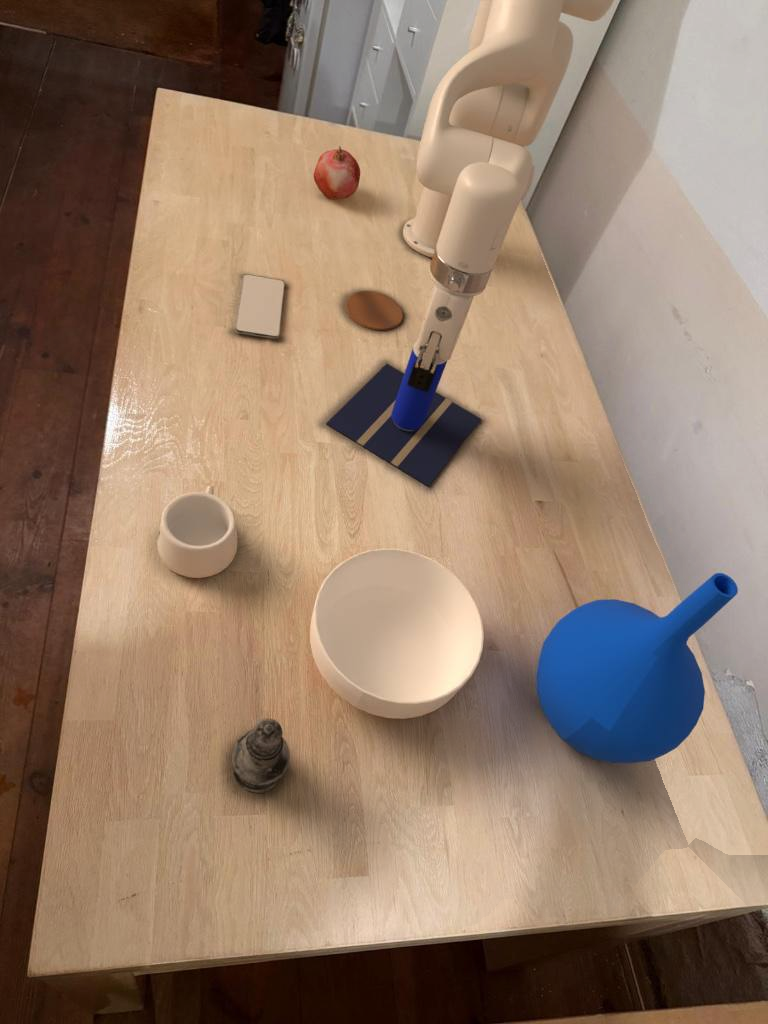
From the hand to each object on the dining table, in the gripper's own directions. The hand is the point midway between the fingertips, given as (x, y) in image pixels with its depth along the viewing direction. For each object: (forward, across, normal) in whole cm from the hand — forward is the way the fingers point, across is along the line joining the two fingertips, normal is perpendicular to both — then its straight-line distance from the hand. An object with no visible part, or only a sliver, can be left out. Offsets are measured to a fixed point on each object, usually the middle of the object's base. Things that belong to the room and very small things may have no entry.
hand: (423, 373), depth 107 cm
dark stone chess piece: (+10, -57, +2) cm, 58 cm away
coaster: (+10, +23, +12) cm, 28 cm away
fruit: (+10, +54, +30) cm, 63 cm away
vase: (+10, -36, -33) cm, 50 cm away
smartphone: (+10, +13, +29) cm, 34 cm away
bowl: (+10, -39, -8) cm, 41 cm away
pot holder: (+10, 0, 0) cm, 10 cm away
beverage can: (+10, 0, 0) cm, 10 cm away
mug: (+10, -33, +19) cm, 39 cm away
